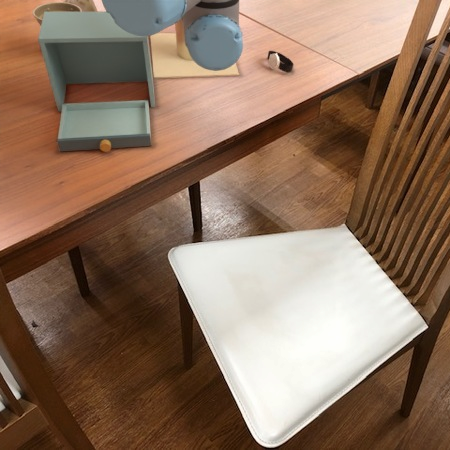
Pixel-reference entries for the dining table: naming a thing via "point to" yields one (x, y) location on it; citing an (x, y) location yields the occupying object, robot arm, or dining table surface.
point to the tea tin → (181, 41)
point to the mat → (178, 61)
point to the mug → (84, 5)
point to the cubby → (92, 52)
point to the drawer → (104, 125)
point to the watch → (275, 61)
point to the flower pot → (54, 9)
